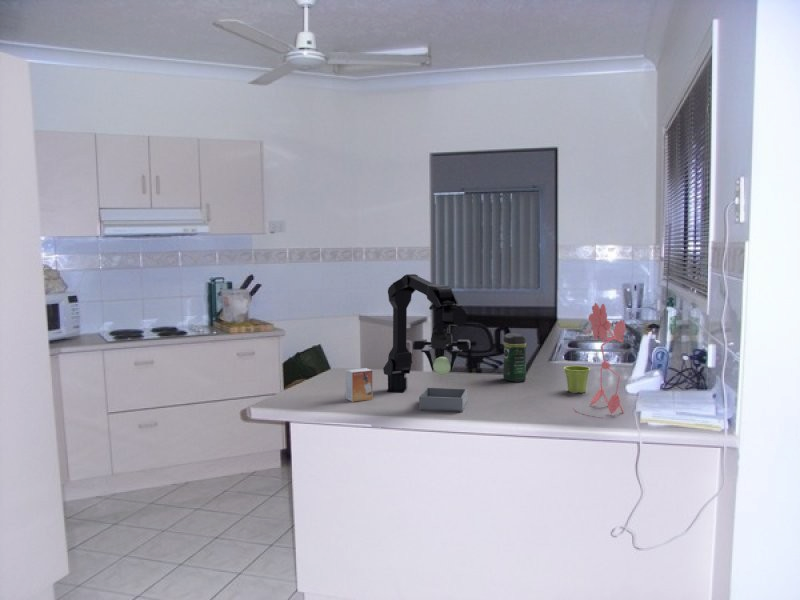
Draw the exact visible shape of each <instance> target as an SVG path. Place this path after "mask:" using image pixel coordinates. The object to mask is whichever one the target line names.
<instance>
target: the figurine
mask: <svg viewBox="0 0 800 600" xmlns="http://www.w3.org/2000/svg"><path fill="white" fill-rule="evenodd" d="M591 311H592V313H590V314H589V315H588V321H589V322H590V323H591V324H590V326H591V327H590V328H589V329H588V330H587V331H586V332H584V335H587V334H588V333H589V332H591V331H592V335H593V339H594V340H597V339H598V337H599V339H600V341H601V342H603V343H601V345H600V350H601V353H602V358H603V362H602V363H600V365H601V368H600V389H599V390H598V391H597V392H596V393H595V394H594V396H593V397H592V400H591V401H590V404H589V405H590V406H591V405H593V404H596V403H597V402H599V401H600V402H601V401H604V399H605V403H607V407H608V411H609V413H610V415H612V414H613V413H615V412H616V410H617V409H620V411H621V413H622V414H623V413H625V411H624V409H623V408H622V405H621V397H620V396H619V395H618V394H617V393H618V388H619V384H620V379H621V376H620V375H619V374H618V373H617V372H615V371H614V370H612V369H611V364H610V362H609V361H607V360H606V359H605V354H604V347H603V346H605V345H606V344H608V343H610V342H611V341H612V340H614V341H615V340H616V341H618V342H620V343H622V344H624V341H625V339H624V334H625V332H626V330H627V329H626V327H627V326H626V324H625V322H624V320H622V319H619V321H618V322H617V323H616V324H615V325H614V328H613V333H612V332H611V330H610V329H611V326H612V324H611V322H610V320H608V319H607V318H608V313H607V308H606V305H605V303H601V305H600V306H599V304H598V303H597V302H594V304H593V305H592V306H591ZM608 332H609V334H610V335H611V337H609V336H608ZM605 340H606V341H605ZM603 370H609V371H610V372H612V373H613V374H615V375H616V376H617V377H618V379H617V384H616V390H615V393H614V394H613V395H611V397H610V398H609V400H608V398H607V397H606V394H605V388H604V387H603V379H602V378H603V374H602V373H603V372H602V371H603ZM602 396H603V398H604V399H603V400H602V399H601V400H600V398H601V397H602ZM573 410H575V408H574V407H573ZM576 412H577V414H580V412H579V411H576V410H575V413H576ZM582 415H584V416H587V417H591V416H592V417H591V418H595V416H594V415H588V414H585V413H584V414H583V413H582ZM597 417H598V418H599V419H602V417H599V416H597Z"/></svg>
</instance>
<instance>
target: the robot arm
mask: <svg viewBox="0 0 800 600" xmlns="http://www.w3.org/2000/svg"><path fill="white" fill-rule="evenodd" d="M416 291H417V292H419V293H421V294H422V295H425V296H426V299H427V301H429V302H430V303H431V305H430V306H429V307H428V309H429V310H430V311H432V333H431V338H430V341H428V339H425V338H424V339H418V338H417V339H415V340H414V341H413V342H412V350H415V351H416V350H419V351H420V352H421V353H424V354H425V356H426V358H427V359H428V362H429V366H430V368H431V371H434V368H433V363H434V361H435V360H434V354H433V353H434V352H433V351H434V350H435V349H441V350H445V349H446V348H452V350H451V361H450V363H451V369H450V371H451V372H452V371H453V370H454V367H455V363H456V360H457V357H458V355H459V353H460V354H461V353H462V351H469V350H470V349H471V346H472V345H471V344H472V343H471V340H470V339H457V341H454V340H453V334H452V333H451V326H455V327H462V326H464V325H465V324H466V322H467V320H468V314H467V312H466V310H465V309H463V305H462V304H459V302H458V299H457V297H456V296H455V294H454V291H453V290H452V287H451V286H450V285H445V284H436V283H433V282H431V281H429V280H426V279H425V278H422V277H420V276H419V275H417V274H416V273H412V274H411V273H410V274H405V275H403V276H402V277H401V278H399V279H398V280H396V281H394V282H392V284H390V285H389V287H388V288H387V294H388V295H387V296H388V302H389V303H390V305H391V306H392V348H391V349H390V351H389V353H388V356H387V357H388V359H387V362H386V364H385V365H384V366H383V368H382V370H383V375H386V376H387V389H386V392H393V393H405V391H407V390H408V377H407V374H410V372H411V369H412V363H413V360H412V359H413V353H412V352H411V351H409V349H408V347H407V341H408V340H407V336H408V335H407V322H408V321H407V318H408V317H407V316H408V315H407V314H408V313H407V311H408V310H407V309H408V307H409V305H410V303H411V301H412V295H413V294H414V293H415V292H416Z"/></svg>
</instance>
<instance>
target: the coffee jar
mask: <svg viewBox="0 0 800 600" xmlns="http://www.w3.org/2000/svg"><path fill="white" fill-rule="evenodd" d="M526 349H527V337H526V336H524V335H523V334H519V333H517V332H508V333H506V334H504V336H503V371H502V372H503V374H502V375H503V377H502V378H503V379H504V380H505V381H509V382H515V383H520V382H524V381H526V379H527V376H526V375H527V365H526V363H527V360H526V359H527V358H526V355H527V353H526V352H527V351H526Z"/></svg>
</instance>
